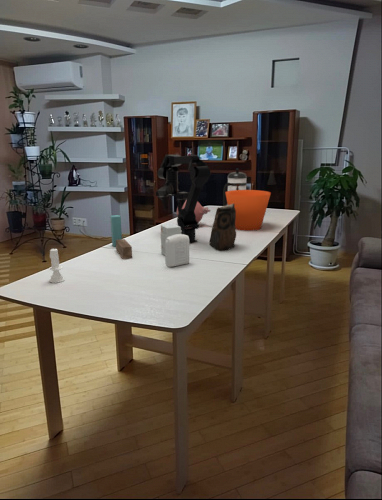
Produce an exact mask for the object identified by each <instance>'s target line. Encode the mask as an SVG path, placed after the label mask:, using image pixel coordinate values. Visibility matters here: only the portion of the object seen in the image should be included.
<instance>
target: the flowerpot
mask: <svg viewBox="0 0 382 500" xmlns="http://www.w3.org/2000/svg"><path fill="white" fill-rule="evenodd" d="M225 193H226V204H227V203H228V205H231V204H235V205H234V207H235V210H236V220H235V227H236V231H237V230H238V231H243V232H244V231H247V232H249V231H258V230H261V229H262V227H263V221H264V219H265V215H266V212H267V209H268V204H269V200H270V197H271V194H272V192H270V191H267V190H257V189H246V190H232V191H227V190H226V192H225Z"/></svg>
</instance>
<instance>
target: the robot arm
mask: <svg viewBox="0 0 382 500" xmlns="http://www.w3.org/2000/svg"><path fill="white" fill-rule="evenodd" d="M185 164H187V165H188V168H187V171H188V173H189V174H190V176H189V177H190V181H191V185H190V188H189V192H187V191H181V190H179V185H181V184H180V182H179V177H178V176H179V175H178V174H179V172H180V171H181V170H180V168H178V166H181V165H185ZM194 165H196V166H194ZM156 174H157V177H158V178H159V179H163V180H166V182H164V185H163V186H161V187H160V188H159V189H157V190H156V192H155V196H156V197H157V198H158V199H159V200H160V201H161V202H162V205H163V207H164V210H165V211H168V206H169V202H170V201H169V199H170V197H176V199H175V201H176V202H177V208H178V212H179V213H178V215H177V214H176V218H177V219H176V222H177V223H176V224H177V225H178V226H180V227H181V234H184V235H187V236H188V237H189V244H192V243H195V242H198V239H196V230H199V226H200V224H199V223H197V221H196V219H195V218H196V215H195V212H194V210H195V207H196V204H197V202H199V199H200V195H201V191H202V190H203V186H204V185H205V184H206V183H208V182H209V179H210V177H211V174H212V173H211V169H210V167H209V166H208V165H207V162H205V161H203V160H202V159H201V158H200V157H199V155H197V154H189V155H180V154H166V155H164V157H163V159H162V162H161V164H160V167H159V168H158V170H157V172H156ZM186 200H187V201H186ZM185 201H186V204H185V208H184V209H182V207H183V205H184V203H185ZM177 216H178V217H177ZM187 225H191V226H187Z"/></svg>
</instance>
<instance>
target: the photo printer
mask: <svg viewBox="0 0 382 500" xmlns="http://www.w3.org/2000/svg"><path fill="white" fill-rule="evenodd" d="M164 259H165V266H166V267H168V268H170V267H177V266H182V265H187V264H189V263H190V243H189V237H188V236H187V235H184V234H176V235H172V236H170V237H168V238H166V240H165V255H164Z"/></svg>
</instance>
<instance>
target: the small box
mask: <svg viewBox="0 0 382 500" xmlns="http://www.w3.org/2000/svg"><path fill="white" fill-rule="evenodd" d="M176 234H181V227H180V226H178V224H175V223H166V224H160V251H161V252H160V253H161V254H162V255H163V256H165V240H166V238H168V237H170V236H172V235H176Z"/></svg>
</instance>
